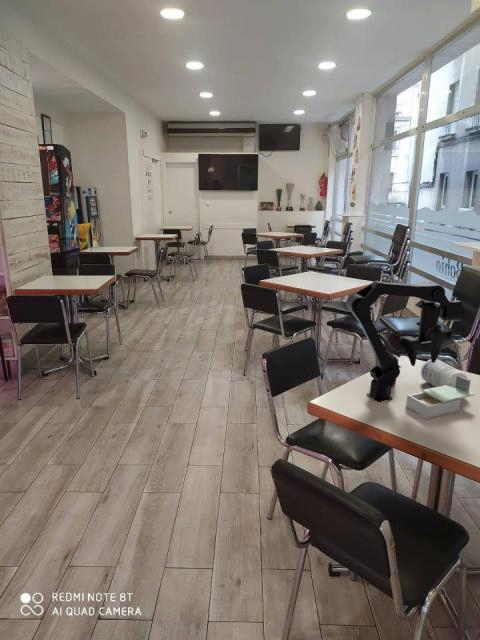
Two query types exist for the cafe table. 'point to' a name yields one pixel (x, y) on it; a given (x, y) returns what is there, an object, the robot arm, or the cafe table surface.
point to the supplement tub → (440, 373)
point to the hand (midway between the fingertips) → (423, 364)
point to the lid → (451, 390)
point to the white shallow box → (431, 406)
